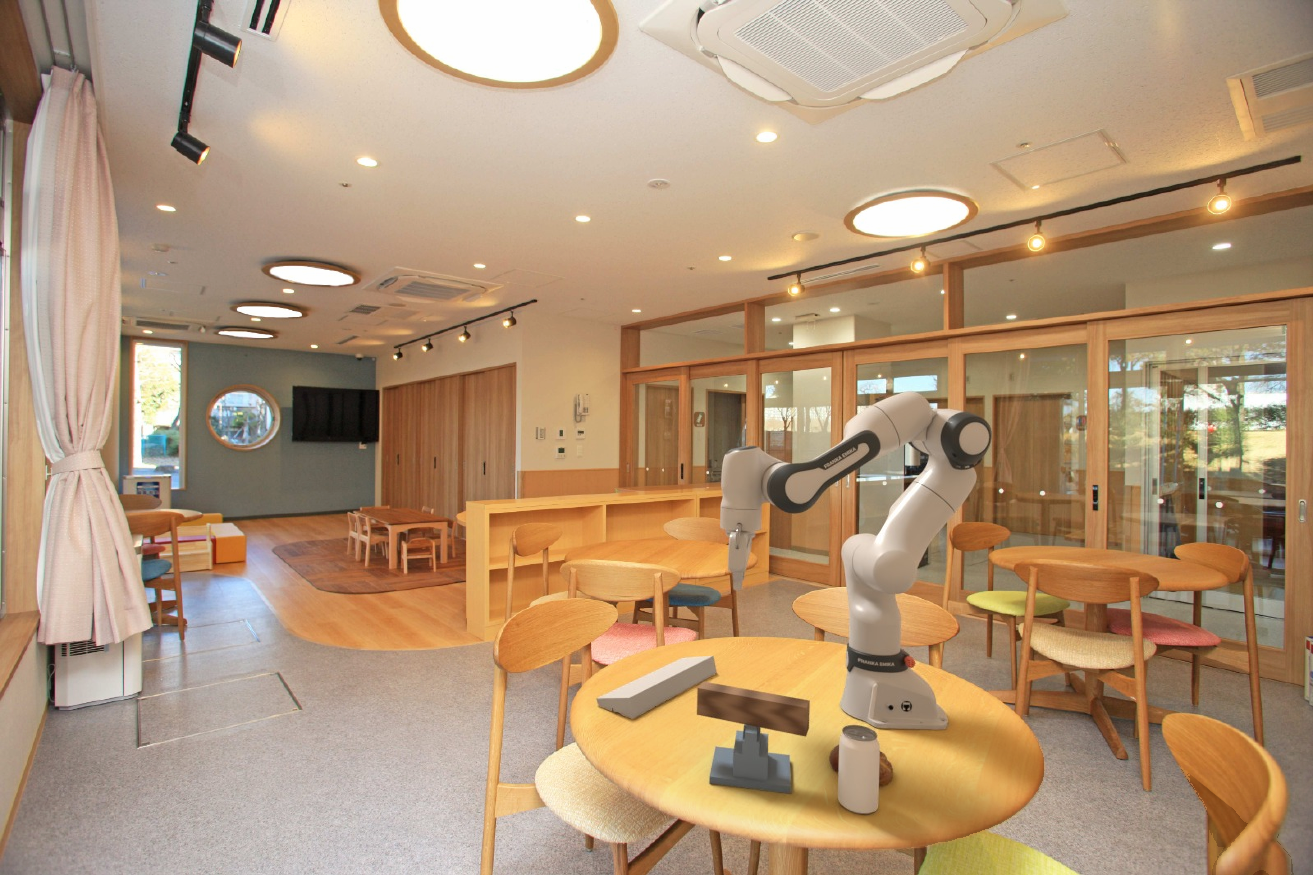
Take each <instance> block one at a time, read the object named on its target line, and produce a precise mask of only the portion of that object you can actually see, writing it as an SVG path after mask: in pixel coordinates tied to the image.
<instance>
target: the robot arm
mask: <svg viewBox="0 0 1313 875" xmlns="http://www.w3.org/2000/svg"><path fill="white" fill-rule="evenodd" d="M992 439H993V432H992V428H991V425H990V424H989V422H988V421H987V420H986V419H985V418H983V417H981V416H980V415H978V414H976V413H974V412H970V411H962V410H959V409H952V408H933V407H932V406H931V405H930V402H929V401H928V399H926V397H925V396H923V394H921V393H919V392H918V391H917V392H916V391H912V390H911V391H910V390H909V391H904V392H901V393H897V394H894V395H891V396H889V397H887V398H884V399H882V400H880V401H877V402H875V403H874V404H871V405H870V406H868V407H866V408H864V409H863V410H861V411H860V412H858V413H856V414H855V415H854V416H853V417H852V418H850V420H848V421H847V422H846V424H845V426H844V429H843V439H842V441H840V442H839V443H838V444H836V445H834V446H833V447H831V448H829V449H828V450H826V451H825V452H823V453H821V454H820V455H818V456H816V457H815V458H813V459H810V460H809V461H805V462H796V463H790V462H786V461H783V460H780V459H778V458H776V457H774V456H772V455H770V454H768V453H767V452H765V451H763V449H761V447H760V446H757V445H748V446H747V445H745V446H744V445H743V446H739V447H734V448H730V450H728V451H727V452H725V454H724V457H723V461H722V465H721V466H722V467H721V480H720V485H721V486H720V487H721V488H720V489H721V492H722V499H721V502H720V515H719V516H720V518H719V519H720V520H719V529H721V530H725V536H726V537H727V538H728V554H727V556H728V557H727V569H728V571H729V572H732V582H733V583H732V584H733V586H732V588H733V590H734V591H736V592H737V591H739V592H740V591H742V590H743V581H744V580H745V578H746V573H745V572H747V571H746V570H747V567H748V563H749V559H750V556H751V552H752V546H753V545H752V543H753V538H755V537H756V532H758V531H760V530H762V507H763V504H765V503H768V504H771V505H773V506H775V507H777V509H779V510H780V511H782V512H785V513H787V514H800V513H804V512H806V511H808V510H809V509H811V508H812V507H813V506H815V504H816V503H817V501H818V500H819V499H820V497H821V496H822V495H823V493H824V492H826V490H827V489H829V487H831V486H832V485H834V484H836V483H837V482H839V481H840V480H842V479H843V478H845V477H847V476H849V475H850V474H851V473H853V472H855V471H856V470H858V469H859V468H861V467H863V466H864V465H866V464H868V463H871V462H873V461H875V460H878V459H880V458H882V457H884V456H886V455H888V454H891V453H892V452H894V451H896V450H898V449H900V448H902V447H903V446H905V445H906V444H908V445H909V446H910V447H911V448H912V449H914V450H916V451H918V452H919V453H922V454H927V455H928V460H927V464H926V465H925V467H924V468H923V470H922V472H921V473H919V475H918V476H917V477H916V478H914V480H913V481H912V482H911V483H910V484H909V485H908V487H907V488H906V489H905V490H904V491H903V492H902V493H901V495H900V496H899V497H898V498H896V500H895V501H894V503H893V504H892V505H891V506H890V508H889V510H888V511H889V512H888V516H887V518H886V520H885V521H884V524H883V525H882V527H881V529H880V530H879V532H878V534H876V535H875V534H873V533H867V532H866V533H865V532H864V533H858V534H853V535H851V536H850V537H848V538H847V539H846V540H845V541H844V543H843V544H842V547H841V552H840V555H841V559H842V564H843V567H844V575H845V578H844V580H845V587H846V593H847V600H848V607H849V608H848V609H849V610H848V611H849V612H848V614H849V618H848V620H849V621H848V623H849V624H848V627H849V628H848V643H847V644H846V650H845V668H846V677H845V678H846V679H845V685H844V688H843V693H842V697H841V700H840V703H839V707H840V708H841V709H842V711H844V712H845V713H846V714H847V715H849V716H851V717H854V718H855V719H858V720H861V721H864V722H865V723H867V724H869V725H871V726H873V727H874V728H877V729H898V730H899V729H902V730H903V729H905V730H907V729H908V730H945V729H947V728H948V727H949V718H948V716H947V713H946V711H945V710H944V709H943V708H942V707H941V706H940V705H939V704H938V703H937V698H936V695H935V692H934V690H933V688H932V686H931V685H930V684H929V683H928V682H927V681H926V680H925V679H924V678H923V677H921V676H920V675H919V674H918V673H917V672H915V671H914V670H913V668H915V666H916V660H915V659H914V658H913V657H912V656H910V654H909V653H908V651H906V650H905V649H904V648H901V645H902V644H901V643H902V642H901V640H902V639H901V638H902V637H901V636H902V631H901V630H902V614H901V611H900V608H899V606H898V602H897V598H896V595H900V594H903V593H906V592H908V591H909V590H910V589H912V587H913V586H914V584H915V583H916V580H917V577H918V567H919V564H920V563H921V561H922V559H923V557H924V555H925V553H926V551H927V549H928V547H929V545H930V544H931V542H932V541H933V539H934V538H935V537H936V535H938V533H939V532H940V531H941V529H943V527H944V526H945V525H947V523H948V522H949V520H950V519H952V518H953V516H954V515H955V514H956V513H957V511H958V510H959V509H960V508H961V506H962V505H963V504H964V502H965V501H966V499H967V498H969V496H970V494H971V492H972V490H973V489H974V487H975V485H976V483H977V479H978V478H977V472H976V469H975V467H977V466H979V465H980V464H981V462H982V460H983V458H984V457H985V455H986V454H987V452H988V450H989V448H990V447H991V446H990V445H991V443H992Z"/></svg>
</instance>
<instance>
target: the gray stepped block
mask: <svg viewBox="0 0 1313 875" xmlns="http://www.w3.org/2000/svg"><path fill="white" fill-rule="evenodd" d="M761 729H762V728H760V727H755V726H750V725H745V724H743V729H742V730H738V729H737V730H736V733H735V740H734V747H733V748H732V747H722V746H714V751H713V752H714V753H713V757H712V761H711V766H710V767H711V768H710V772H709V781H708V782H709V784H711V783H712V784H713V785H720V786H726V787H727V786H728V787H735V788H744V789H752V790H759V791H767V792H773V793H782V794H783V793H784V794H791V793H792V792H791V791H792V782H791V780H792V779H791V778H792V777H791V758H790V754H786V753H785V754H784V753H775V752H769V733H765V732H764V733H763V732H761Z"/></svg>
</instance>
